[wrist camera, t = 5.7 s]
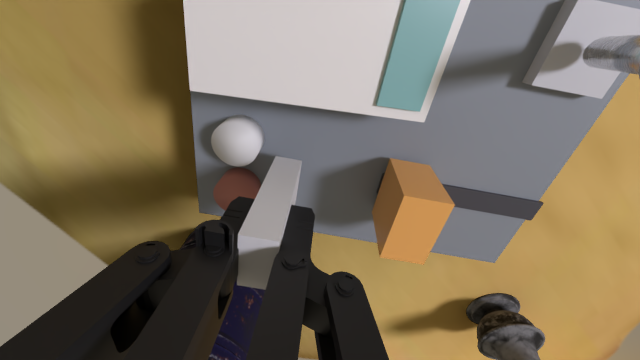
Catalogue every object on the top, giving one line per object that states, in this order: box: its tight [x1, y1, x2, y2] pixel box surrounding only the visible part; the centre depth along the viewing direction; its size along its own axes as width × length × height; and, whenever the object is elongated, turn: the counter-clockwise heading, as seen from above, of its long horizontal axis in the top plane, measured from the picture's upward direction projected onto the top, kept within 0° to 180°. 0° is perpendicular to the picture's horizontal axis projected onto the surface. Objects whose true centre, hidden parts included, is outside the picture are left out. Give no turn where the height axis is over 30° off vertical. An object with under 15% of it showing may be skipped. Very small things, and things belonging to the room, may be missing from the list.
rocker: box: [183, 0, 471, 122], centre depth 11 cm, size 10×6×2 cm, turn 80°
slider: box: [372, 158, 455, 265], centre depth 15 cm, size 2×4×4 cm, turn 170°
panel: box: [190, 0, 640, 263], centre depth 16 cm, size 22×18×6 cm
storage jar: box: [179, 230, 265, 360], centre depth 21 cm, size 10×10×15 cm
